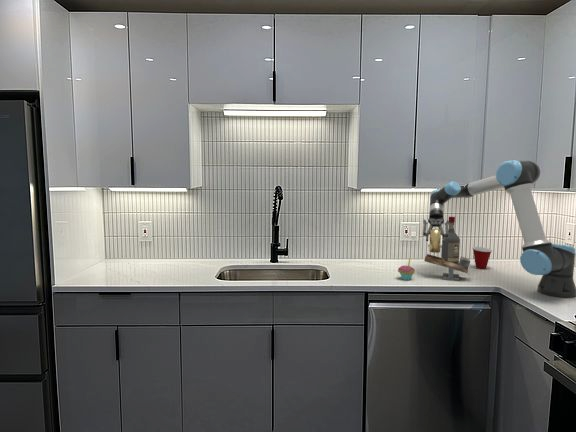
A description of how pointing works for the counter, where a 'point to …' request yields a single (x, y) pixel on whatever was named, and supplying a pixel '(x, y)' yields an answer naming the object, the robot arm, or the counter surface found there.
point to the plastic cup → (481, 256)
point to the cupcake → (406, 271)
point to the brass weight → (435, 240)
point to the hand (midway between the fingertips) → (434, 245)
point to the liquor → (451, 244)
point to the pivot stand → (451, 274)
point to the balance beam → (449, 263)
